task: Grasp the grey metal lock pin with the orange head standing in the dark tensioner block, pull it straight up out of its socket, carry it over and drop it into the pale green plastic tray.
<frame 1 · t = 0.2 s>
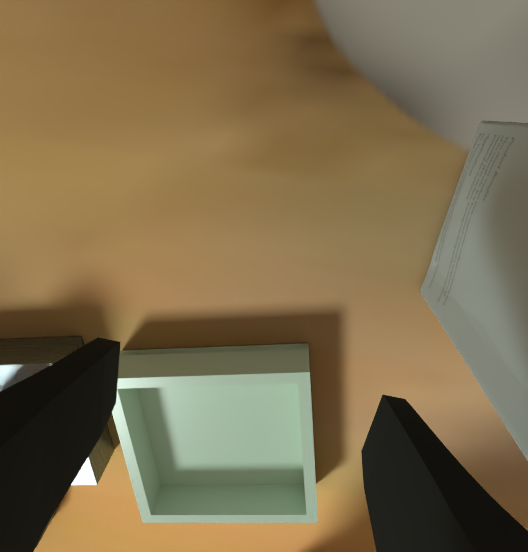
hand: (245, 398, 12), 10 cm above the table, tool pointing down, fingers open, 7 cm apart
tensioner block: (32, 398, 25), on the table
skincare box: (503, 217, 19), on the table
tray: (224, 421, 25), on the table
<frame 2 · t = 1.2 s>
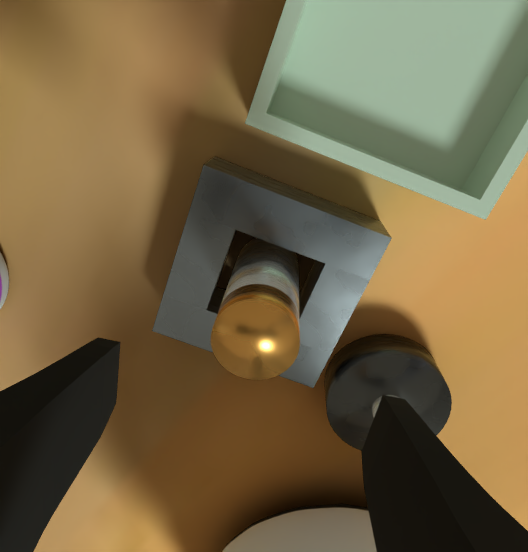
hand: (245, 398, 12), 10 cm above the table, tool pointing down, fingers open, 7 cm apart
lock pin: (267, 266, 21), resting in tensioner block
tensioner block: (267, 266, 21), on the table
tray: (415, 40, 17), on the table
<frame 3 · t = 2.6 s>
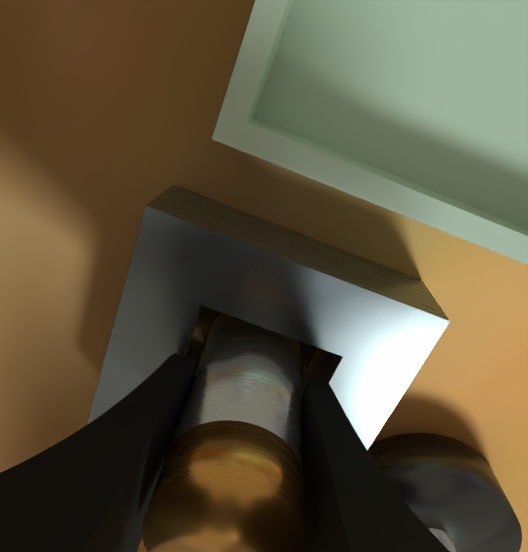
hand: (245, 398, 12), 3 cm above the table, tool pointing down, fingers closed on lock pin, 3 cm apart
lock pin: (254, 341, 14), resting in tensioner block, touching gripper
tensioner block: (254, 341, 14), on the table
tray: (492, 3, 10), on the table
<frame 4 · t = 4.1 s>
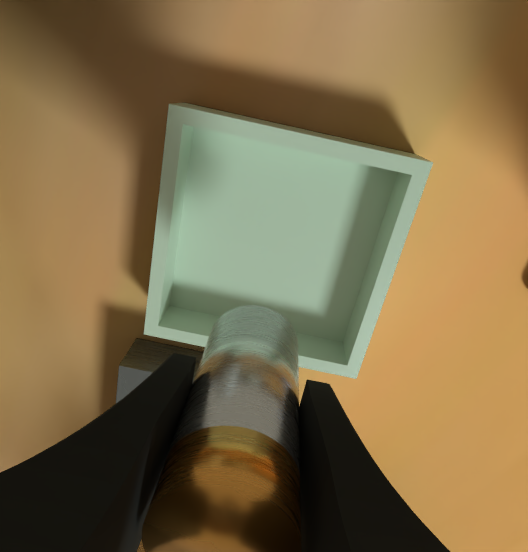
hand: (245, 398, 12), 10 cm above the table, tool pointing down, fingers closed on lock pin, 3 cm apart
lock pin: (253, 344, 14), point 7 cm above the table, touching gripper
tensioner block: (200, 412, 24), on the table
tray: (275, 238, 20), on the table
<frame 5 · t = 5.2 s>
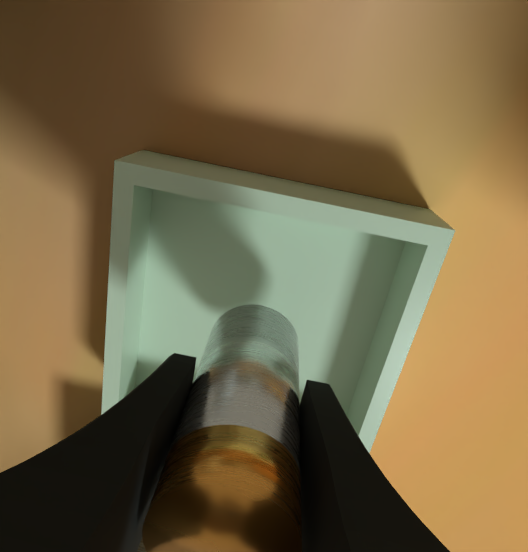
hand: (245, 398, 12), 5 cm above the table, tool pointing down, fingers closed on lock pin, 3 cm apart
lock pin: (253, 344, 14), point 2 cm above the table, touching gripper
tray: (260, 307, 17), on the table
when the fingers open (5 cm above the table, at t = 5.8 s): lock pin drops 2 cm, resting on tray.
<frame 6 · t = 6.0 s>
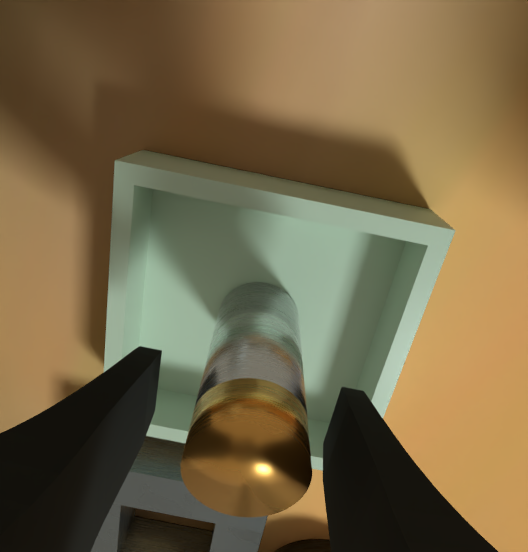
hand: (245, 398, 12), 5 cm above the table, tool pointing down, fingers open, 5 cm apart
lock pin: (258, 318, 16), point 1 cm above the table, touching tray
tensioner block: (178, 496, 21), on the table
tray: (260, 307, 17), on the table
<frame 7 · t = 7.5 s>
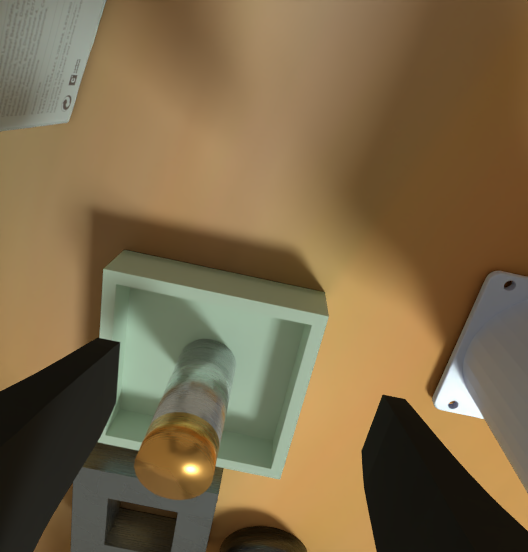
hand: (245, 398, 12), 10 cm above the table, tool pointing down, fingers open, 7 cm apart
lock pin: (207, 363, 23), point 1 cm above the table, touching tray
tensioner block: (152, 492, 27), on the table
tray: (209, 355, 23), on the table
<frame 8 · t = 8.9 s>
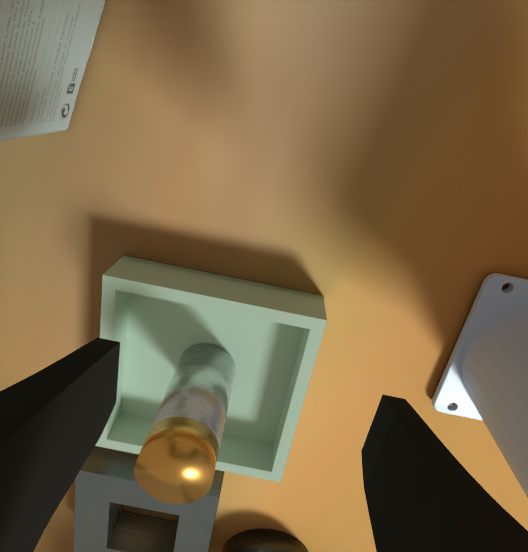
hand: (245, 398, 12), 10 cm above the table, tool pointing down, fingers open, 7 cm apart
lock pin: (207, 367, 23), point 1 cm above the table, touching tray
tensioner block: (154, 495, 27), on the table
tray: (209, 359, 23), on the table
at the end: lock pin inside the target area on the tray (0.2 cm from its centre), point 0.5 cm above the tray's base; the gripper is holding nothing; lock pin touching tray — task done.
